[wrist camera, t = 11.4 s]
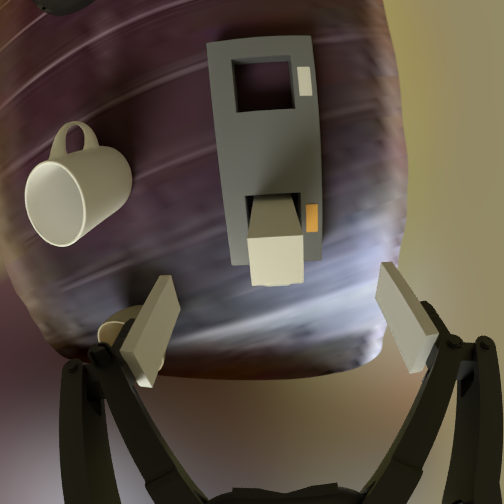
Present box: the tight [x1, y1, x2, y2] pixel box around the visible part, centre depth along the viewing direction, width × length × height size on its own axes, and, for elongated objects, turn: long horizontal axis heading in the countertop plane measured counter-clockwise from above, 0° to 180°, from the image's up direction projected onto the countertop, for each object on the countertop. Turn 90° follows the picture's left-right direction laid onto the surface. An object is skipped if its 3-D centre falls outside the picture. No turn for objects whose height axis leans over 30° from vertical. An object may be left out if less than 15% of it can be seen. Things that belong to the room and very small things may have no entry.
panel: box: [206, 36, 322, 265], centre depth 27 cm, size 24×10×3 cm, turn 5°
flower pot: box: [98, 305, 166, 370], centre depth 37 cm, size 10×10×7 cm
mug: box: [25, 121, 132, 247], centre depth 25 cm, size 9×12×11 cm
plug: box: [247, 193, 303, 287], centre depth 26 cm, size 5×4×12 cm
